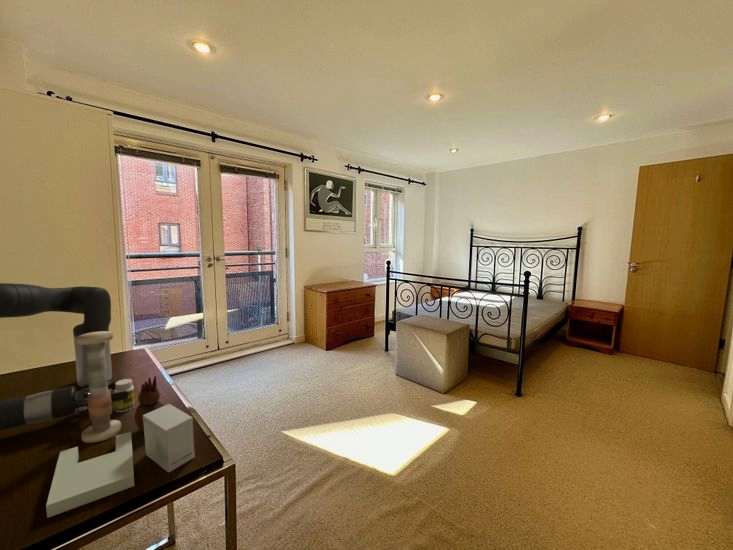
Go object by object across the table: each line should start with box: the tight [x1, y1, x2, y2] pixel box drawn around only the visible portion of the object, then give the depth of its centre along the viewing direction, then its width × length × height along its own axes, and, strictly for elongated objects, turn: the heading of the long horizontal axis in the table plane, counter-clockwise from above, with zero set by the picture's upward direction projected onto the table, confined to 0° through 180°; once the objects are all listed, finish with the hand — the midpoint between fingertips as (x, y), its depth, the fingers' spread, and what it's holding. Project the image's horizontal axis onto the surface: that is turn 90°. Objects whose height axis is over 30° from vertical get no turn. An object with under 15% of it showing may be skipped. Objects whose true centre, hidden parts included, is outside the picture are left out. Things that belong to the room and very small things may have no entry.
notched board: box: [45, 431, 135, 519], centre depth 69 cm, size 18×13×2 cm
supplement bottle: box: [113, 378, 136, 413], centre depth 94 cm, size 5×5×8 cm
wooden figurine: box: [134, 375, 165, 433], centre depth 85 cm, size 7×6×15 cm
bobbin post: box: [76, 330, 122, 444], centre depth 82 cm, size 8×8×26 cm
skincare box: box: [143, 403, 196, 473], centre depth 75 cm, size 10×6×10 cm, turn 58°
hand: (127, 388), depth 95 cm, fingers open, 8 cm apart
